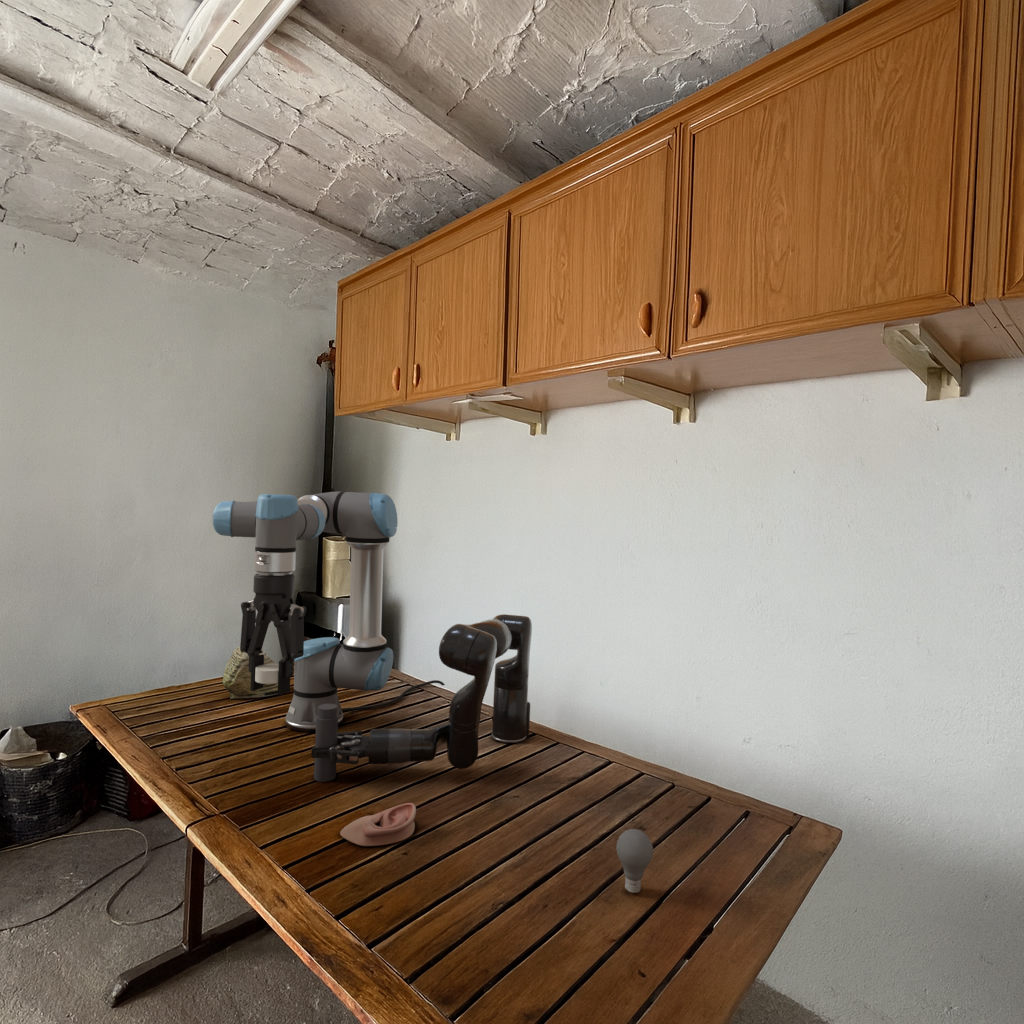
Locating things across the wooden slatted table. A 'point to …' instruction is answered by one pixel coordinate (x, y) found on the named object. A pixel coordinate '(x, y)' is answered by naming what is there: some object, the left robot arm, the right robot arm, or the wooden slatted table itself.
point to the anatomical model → (382, 826)
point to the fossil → (245, 677)
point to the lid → (267, 673)
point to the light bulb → (634, 857)
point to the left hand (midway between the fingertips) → (270, 690)
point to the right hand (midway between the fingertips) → (313, 747)
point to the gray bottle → (326, 741)
